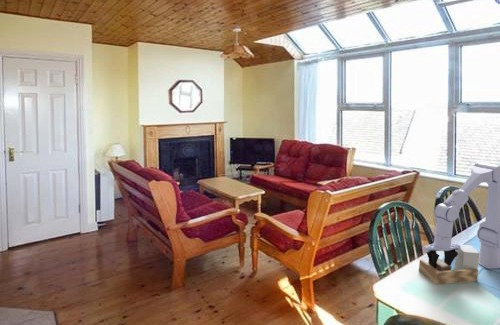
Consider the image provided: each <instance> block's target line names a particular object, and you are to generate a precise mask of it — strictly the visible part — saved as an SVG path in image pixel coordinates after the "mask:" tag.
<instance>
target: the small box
mask: <svg viewBox="0 0 500 325" xmlns="http://www.w3.org/2000/svg"><path fill="white" fill-rule="evenodd" d="M459 245H460V246H461V247H460V250H459V251H458V250H456V252H458V255H457V256H456V257H455V258H454V269H453V270H463V269H477V270H478V271H479V264H478V262H479V254H480V251H478V250H477V249H476V248H474V246H473V245H468V244H459Z"/></svg>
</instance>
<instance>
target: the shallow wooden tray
mask: <svg viewBox="0 0 500 325" xmlns="http://www.w3.org/2000/svg"><path fill="white" fill-rule="evenodd" d="M418 271H419V272H420V273H421V274H423V275H424V276H426V277H427V278H428V279H429V280H431V281H432V282H434V284H435V285H444V284H457V283H470V282H477V281H478V277H479V276H478V275H479V269H478V270H477V269H463V270H455V269H451V270H449V271H438V270H437V269H435V268H434V267H432V266H431V265H430V264H428V262H427V261H425V260H424V259H419V266H418Z"/></svg>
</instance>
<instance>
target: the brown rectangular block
mask: <svg viewBox="0 0 500 325" xmlns="http://www.w3.org/2000/svg"><path fill="white" fill-rule="evenodd" d="M427 263H428V264H430V262H429V261H428V262H427ZM436 269H437V270H438V271H449V270H452V266H450V265H448V264H447V263H445V262H444V261H443V260H442V259H441V258H439V257H438V260H437V264H436Z"/></svg>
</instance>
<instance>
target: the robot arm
mask: <svg viewBox="0 0 500 325" xmlns="http://www.w3.org/2000/svg"><path fill="white" fill-rule="evenodd" d="M470 171H471V174H470V175H469V176H468V178H467V179H466V181H465V182H464V183H463V184H462V186H461V187H460V188H459V189H454V190H453V192H452V193H451V194H450V195H449V196H447V198H446V199H445V200H444V201H443V202H442V203H439V204H437V205H436V206H435V207H434V210H433V215H434V220H435V231H434V241H433V243H431V244H428V245H427V244H426V245H424V246H423V247H422V248H423V249H422V250H423V252H425V253H426V255H427V258H428V262H430V265H431V266H432V267H434V268H435V269H436V264H437V260H438V258H439V257H440V254H438V253H437V252H443V255H444V256H443V257H444V259H443V260H444V261H443V262H445V263H447V264H448V265H450V266H451V265H452V263H453V261H455V258H456V256H457V255H458V252H456V250H458V251H459V250H460V247H461V246H460V245H461V244H458V243H452V237H453V229H454V222H455V221H456V220H457V219H458V217H459V213H460V212H461V209H462V207H464V205H465V204H466V203H467V202H468V201H469V195H471V193H472V192H473V191H474V190H475V189H477V187H479V185H481V184H482V183H486V184H487V195H486V208H485V220H484V221H481V222H480V223H479V225H478V229H477V230H476V231H477V232H476V237H477V238H478V240H479V243H480V247H479V262H478V265H480V266H482V267H483V268H485V269H488V270H489V269H500V165H499V164H493V163H489V162H482V161H477V162H476V163H474V165H473V166H472V167H471V170H470ZM451 267H452V266H451Z"/></svg>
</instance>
